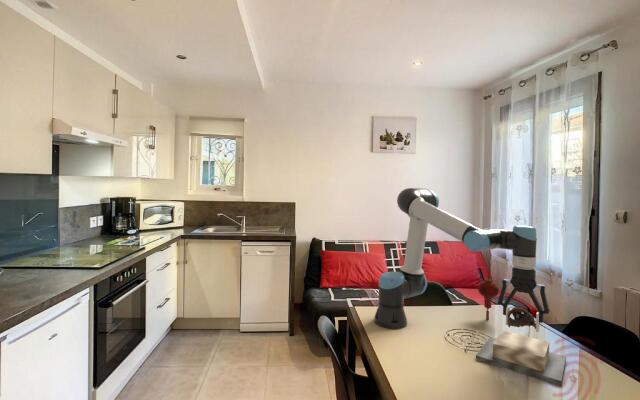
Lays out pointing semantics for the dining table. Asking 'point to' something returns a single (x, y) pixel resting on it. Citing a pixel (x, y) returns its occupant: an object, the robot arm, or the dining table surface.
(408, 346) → the dining table surface
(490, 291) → the lantern
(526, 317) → the pottery mug
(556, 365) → the build base
